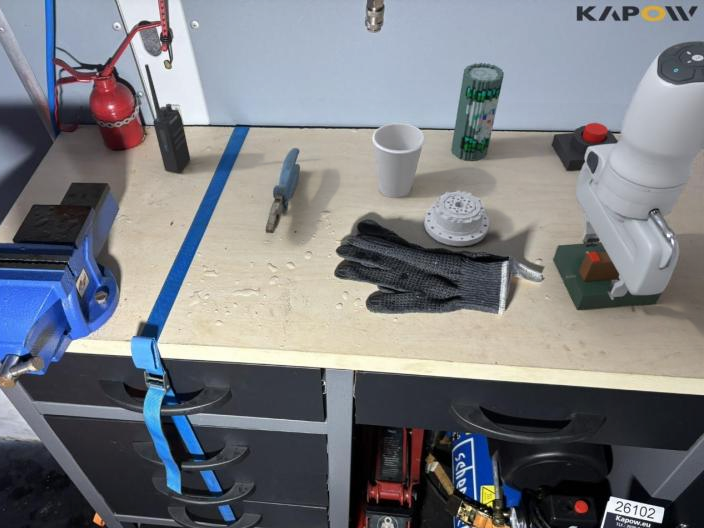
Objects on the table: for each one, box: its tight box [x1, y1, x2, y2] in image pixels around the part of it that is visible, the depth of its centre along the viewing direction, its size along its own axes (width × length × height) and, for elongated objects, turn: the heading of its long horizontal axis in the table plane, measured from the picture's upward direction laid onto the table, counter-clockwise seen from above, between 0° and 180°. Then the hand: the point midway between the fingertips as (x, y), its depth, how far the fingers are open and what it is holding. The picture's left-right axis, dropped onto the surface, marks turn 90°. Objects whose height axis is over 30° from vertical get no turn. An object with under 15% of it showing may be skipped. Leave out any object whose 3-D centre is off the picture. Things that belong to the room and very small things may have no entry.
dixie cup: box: [371, 122, 426, 199], centre depth 100 cm, size 8×8×10 cm
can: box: [450, 62, 505, 162], centre depth 104 cm, size 6×6×15 cm
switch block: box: [551, 125, 618, 172], centre depth 105 cm, size 10×8×4 cm
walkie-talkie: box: [144, 63, 191, 174], centre depth 103 cm, size 5×3×20 cm
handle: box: [579, 252, 619, 281], centre depth 82 cm, size 5×2×4 cm, turn 93°
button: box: [582, 122, 609, 143], centre depth 103 cm, size 4×4×2 cm
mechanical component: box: [423, 189, 490, 247], centre depth 94 cm, size 10×4×10 cm
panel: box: [552, 241, 664, 311], centre depth 85 cm, size 12×11×3 cm
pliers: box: [265, 147, 301, 234], centre depth 99 cm, size 20×2×6 cm, turn 168°
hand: (601, 267), depth 82 cm, fingers open, 8 cm apart
